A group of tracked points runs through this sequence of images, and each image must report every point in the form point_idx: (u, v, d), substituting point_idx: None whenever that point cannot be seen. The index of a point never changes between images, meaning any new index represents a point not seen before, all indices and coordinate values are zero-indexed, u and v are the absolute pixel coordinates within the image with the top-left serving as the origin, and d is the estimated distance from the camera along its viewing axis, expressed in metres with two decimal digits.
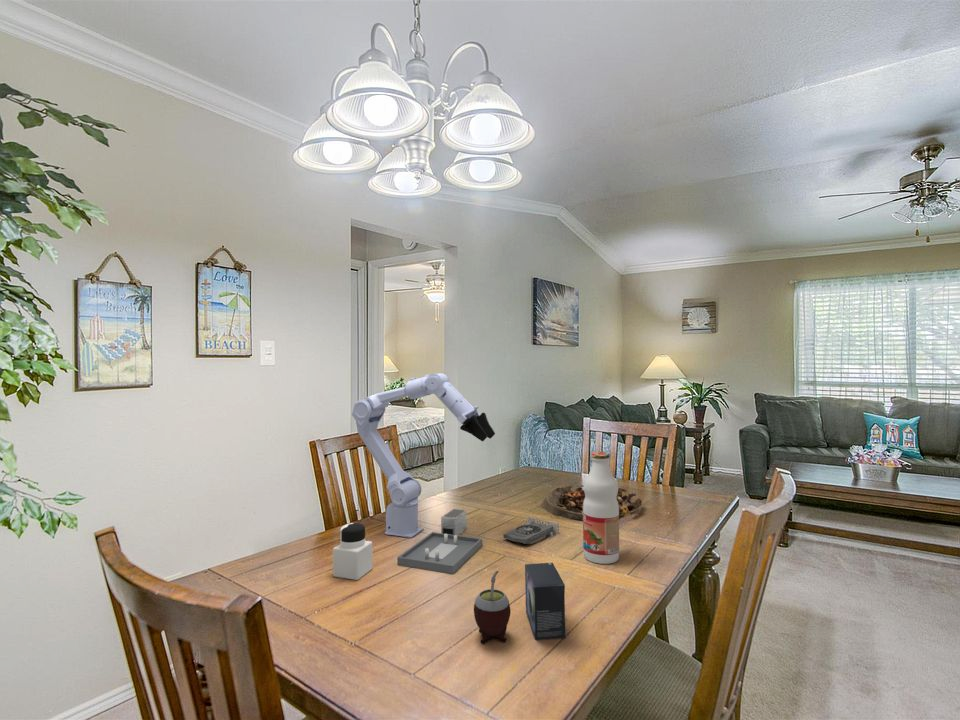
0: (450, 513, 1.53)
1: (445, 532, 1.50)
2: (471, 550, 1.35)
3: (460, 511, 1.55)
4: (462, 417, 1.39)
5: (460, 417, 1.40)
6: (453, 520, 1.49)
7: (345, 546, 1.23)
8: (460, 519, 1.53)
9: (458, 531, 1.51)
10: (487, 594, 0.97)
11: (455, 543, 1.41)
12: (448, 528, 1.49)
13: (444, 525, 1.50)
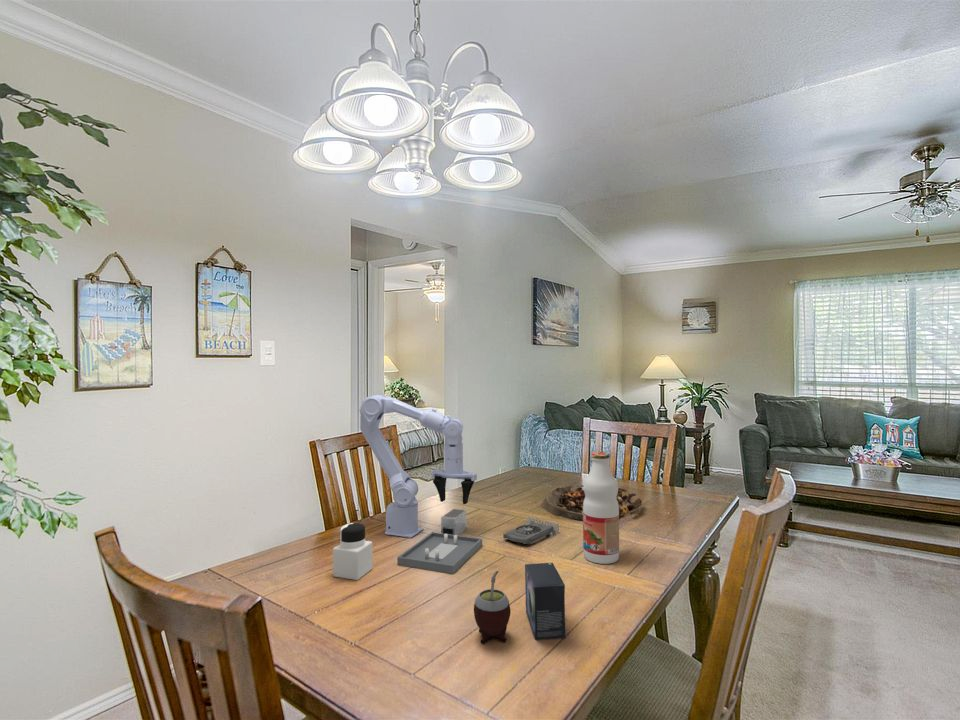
0: (450, 513, 1.54)
1: (445, 532, 1.50)
2: (471, 550, 1.35)
3: (460, 511, 1.55)
4: (476, 476, 1.51)
5: (475, 475, 1.51)
6: (453, 520, 1.49)
7: (345, 546, 1.23)
8: (460, 519, 1.53)
9: (458, 531, 1.51)
10: (487, 594, 0.97)
11: (455, 543, 1.41)
12: (448, 528, 1.49)
13: (444, 525, 1.50)
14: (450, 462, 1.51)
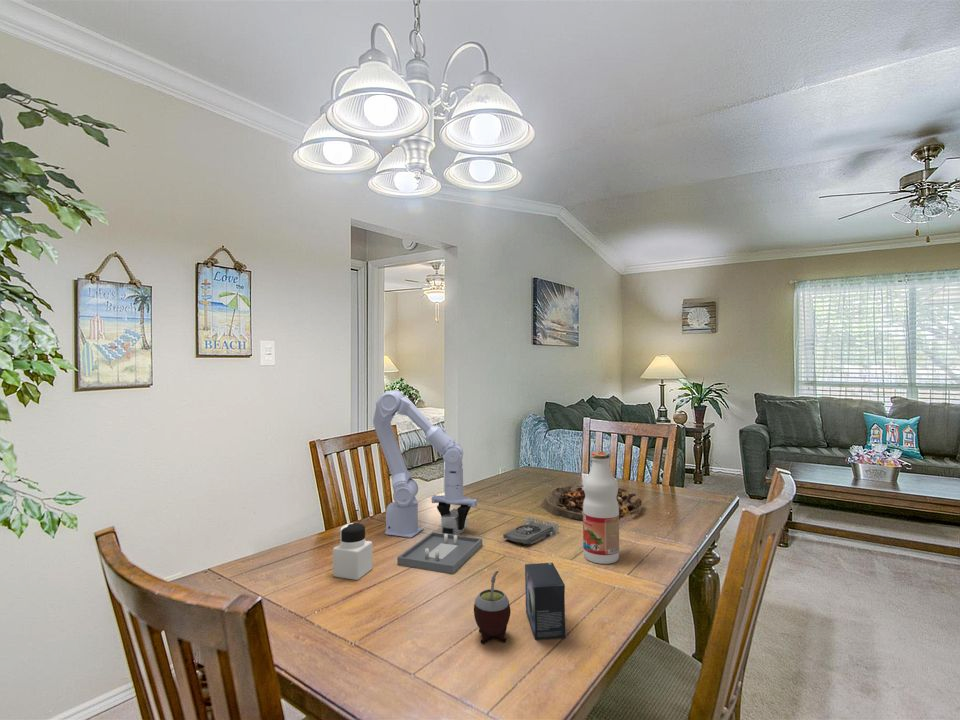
0: (450, 513, 1.54)
1: (445, 532, 1.50)
2: (471, 550, 1.35)
3: None
4: (476, 502, 1.51)
5: (475, 501, 1.51)
6: (453, 519, 1.49)
7: (345, 546, 1.23)
8: None
9: (458, 531, 1.52)
10: (487, 594, 0.97)
11: (455, 543, 1.41)
12: (448, 528, 1.49)
13: (445, 524, 1.50)
14: (450, 488, 1.51)
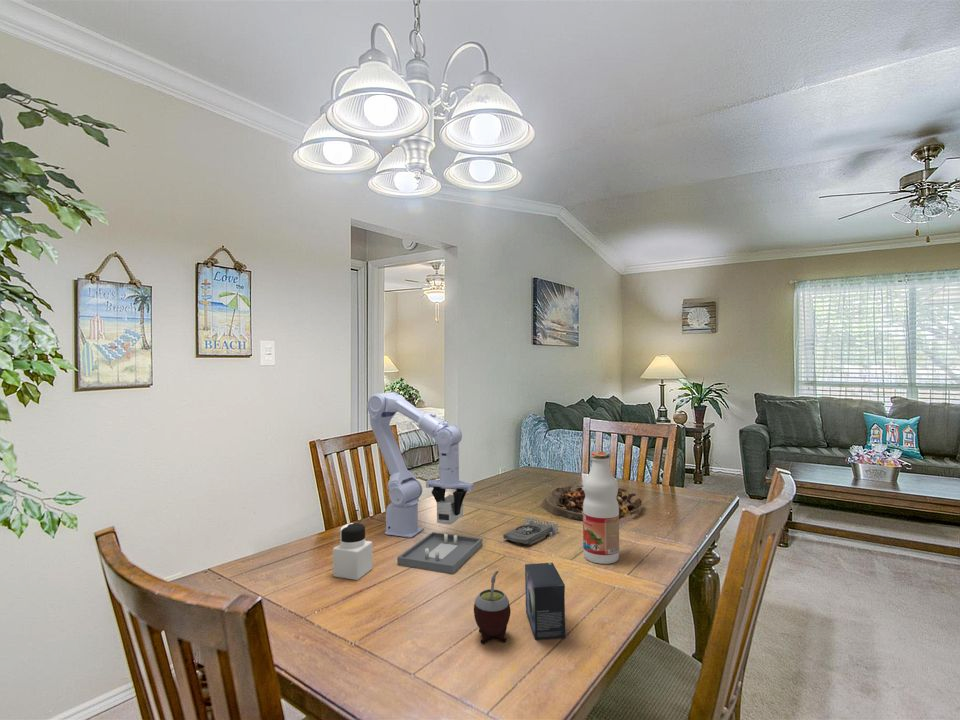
0: (446, 498, 1.47)
1: (441, 518, 1.43)
2: (471, 550, 1.35)
3: None
4: (472, 486, 1.45)
5: (472, 485, 1.44)
6: (449, 505, 1.42)
7: (345, 546, 1.23)
8: None
9: (455, 517, 1.45)
10: (487, 594, 0.97)
11: (455, 543, 1.41)
12: (444, 514, 1.43)
13: (440, 510, 1.43)
14: (446, 472, 1.44)
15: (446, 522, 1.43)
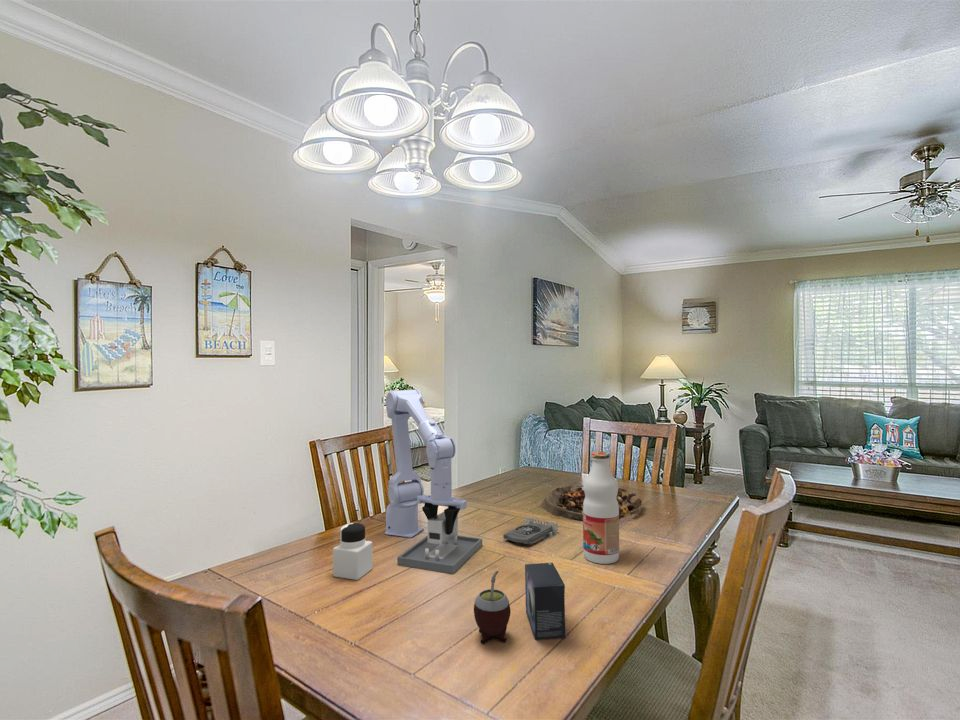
0: (438, 516, 1.37)
1: (431, 537, 1.33)
2: (471, 550, 1.35)
3: None
4: (465, 504, 1.34)
5: (465, 503, 1.33)
6: (440, 523, 1.32)
7: (345, 546, 1.23)
8: None
9: (447, 537, 1.35)
10: (487, 594, 0.97)
11: (455, 543, 1.41)
12: (435, 532, 1.33)
13: (431, 528, 1.33)
14: (436, 488, 1.34)
15: (437, 542, 1.33)
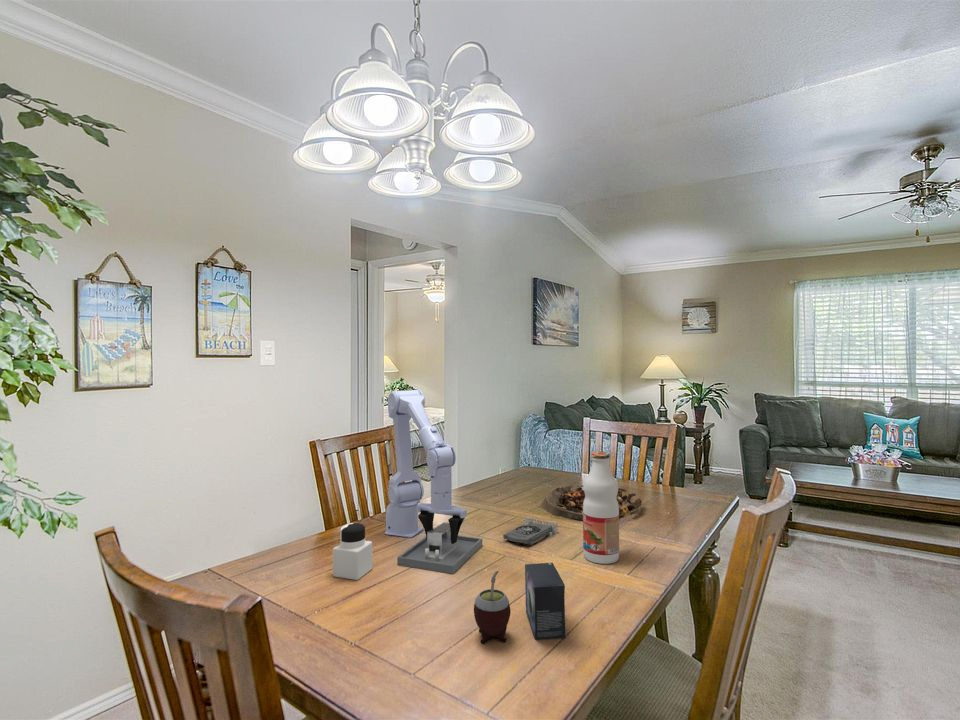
0: (438, 527, 1.37)
1: (431, 549, 1.33)
2: (471, 550, 1.35)
3: None
4: (465, 512, 1.34)
5: (465, 511, 1.33)
6: (440, 536, 1.32)
7: (345, 546, 1.23)
8: (449, 534, 1.36)
9: (447, 548, 1.35)
10: (487, 594, 0.97)
11: None
12: (435, 545, 1.33)
13: (431, 541, 1.33)
14: (436, 496, 1.34)
15: None
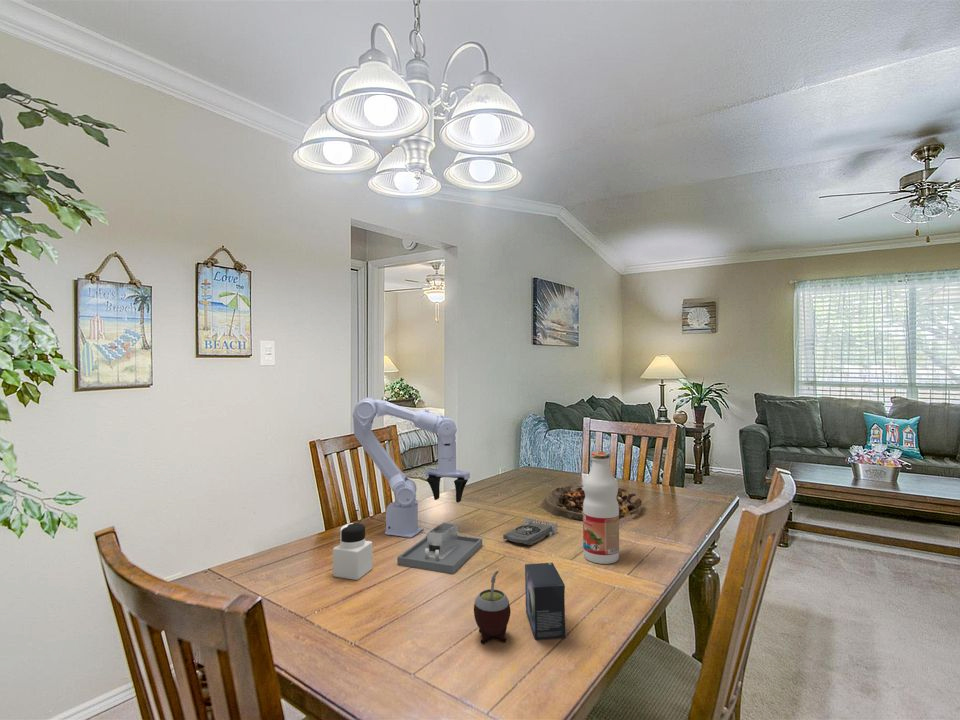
0: (438, 527, 1.37)
1: (431, 549, 1.33)
2: (471, 550, 1.35)
3: (450, 525, 1.39)
4: (469, 475, 1.53)
5: (468, 474, 1.53)
6: (440, 536, 1.32)
7: (345, 546, 1.23)
8: (449, 534, 1.36)
9: (447, 548, 1.35)
10: (487, 594, 0.97)
11: None
12: (435, 545, 1.33)
13: (431, 541, 1.33)
14: (443, 461, 1.53)
15: None
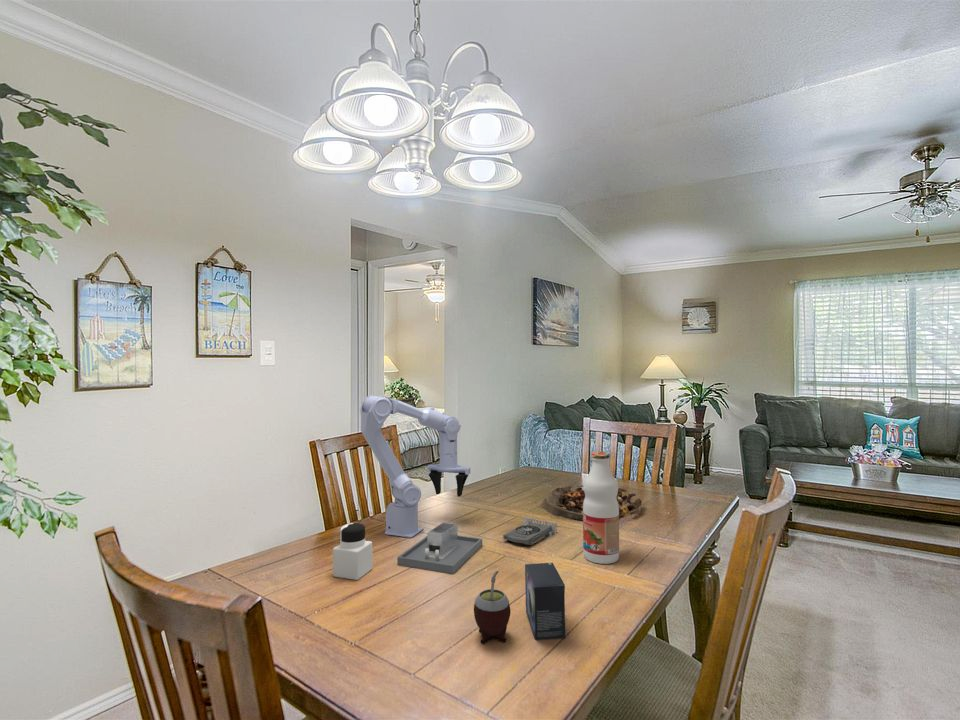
0: (438, 527, 1.37)
1: (431, 549, 1.33)
2: (471, 550, 1.35)
3: (450, 525, 1.39)
4: (469, 470, 1.60)
5: (469, 469, 1.59)
6: (440, 536, 1.32)
7: (345, 546, 1.23)
8: (449, 534, 1.36)
9: (447, 548, 1.35)
10: (487, 594, 0.97)
11: None
12: (435, 545, 1.33)
13: (431, 541, 1.33)
14: (445, 457, 1.59)
15: None
